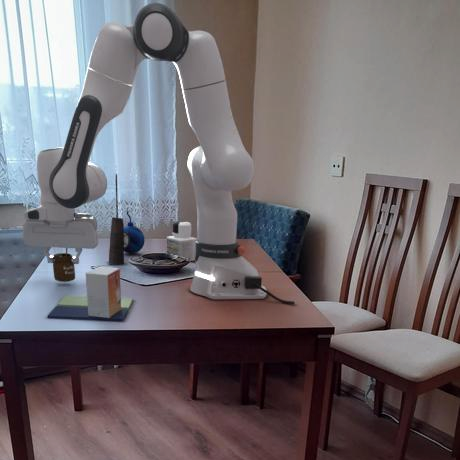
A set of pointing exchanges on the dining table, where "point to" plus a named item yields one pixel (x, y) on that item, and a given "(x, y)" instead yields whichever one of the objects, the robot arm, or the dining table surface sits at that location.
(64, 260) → the utensil holder
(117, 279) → the small box
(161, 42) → the robot arm
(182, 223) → the container
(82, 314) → the slate mat
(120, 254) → the butter churn
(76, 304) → the sage mat
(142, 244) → the bomb
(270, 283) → the dining table surface
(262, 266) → the dining table surface
